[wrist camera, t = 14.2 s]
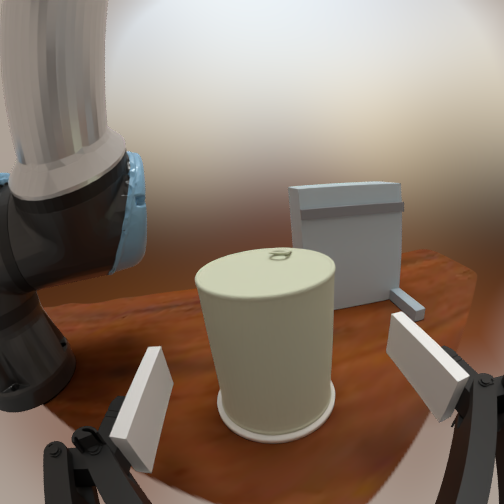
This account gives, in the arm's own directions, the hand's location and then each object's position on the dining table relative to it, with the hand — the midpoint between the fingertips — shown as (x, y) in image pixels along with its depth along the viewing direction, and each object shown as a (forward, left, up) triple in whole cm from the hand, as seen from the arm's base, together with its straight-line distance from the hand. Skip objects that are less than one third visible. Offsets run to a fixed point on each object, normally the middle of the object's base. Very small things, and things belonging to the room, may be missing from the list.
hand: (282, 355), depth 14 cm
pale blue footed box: (+9, +21, -9) cm, 25 cm away
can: (-1, +5, -8) cm, 10 cm away
